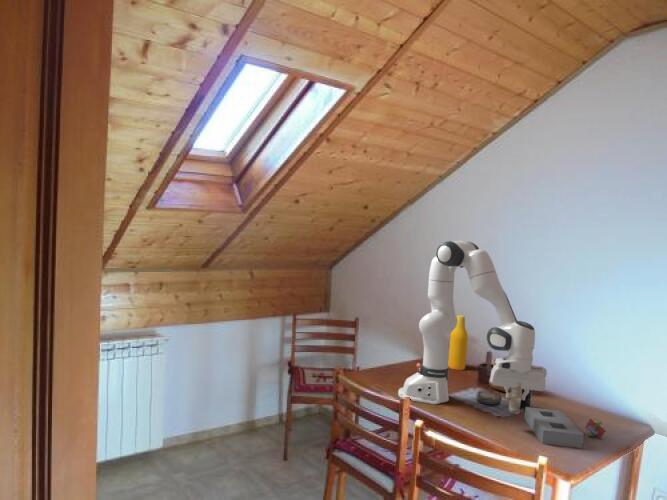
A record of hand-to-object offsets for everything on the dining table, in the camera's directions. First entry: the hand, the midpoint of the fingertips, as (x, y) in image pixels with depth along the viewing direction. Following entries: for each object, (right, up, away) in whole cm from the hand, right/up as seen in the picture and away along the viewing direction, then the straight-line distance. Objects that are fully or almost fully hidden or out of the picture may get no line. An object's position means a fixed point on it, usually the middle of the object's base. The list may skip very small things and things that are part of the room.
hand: (515, 398), depth 196 cm
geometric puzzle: (+29, -14, -3) cm, 33 cm away
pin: (-1, -5, 0) cm, 5 cm away
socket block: (+13, -13, -1) cm, 19 cm away
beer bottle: (-3, -8, +83) cm, 83 cm away
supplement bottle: (+12, -12, +26) cm, 31 cm away
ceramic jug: (+12, -10, +49) cm, 52 cm away
